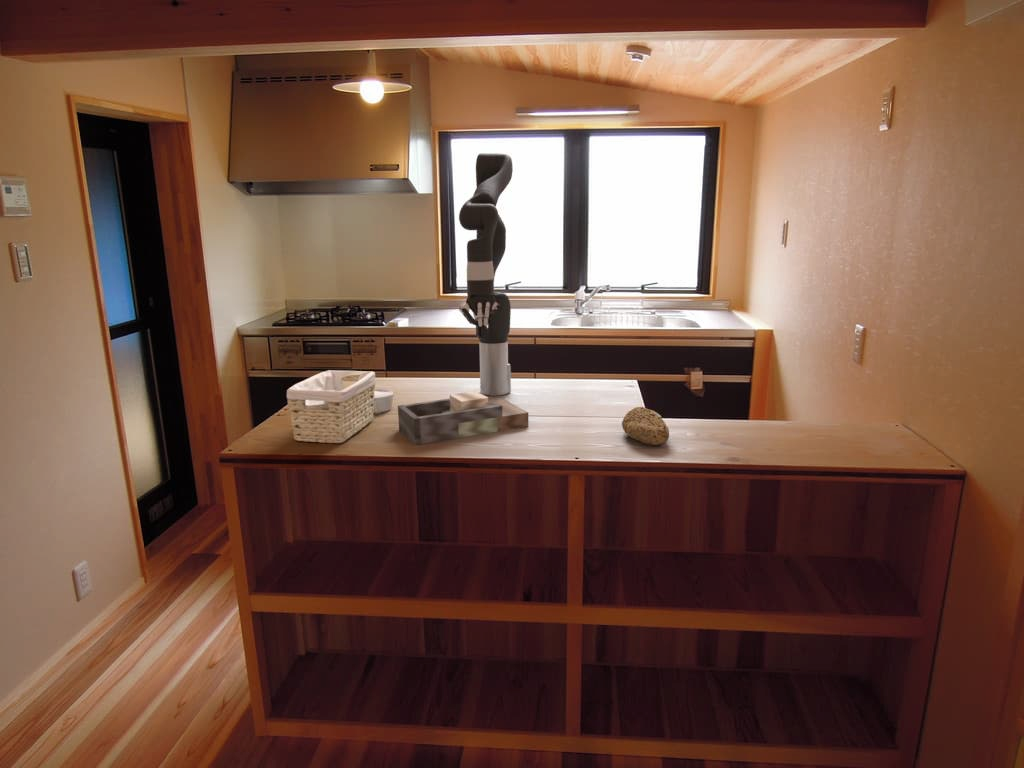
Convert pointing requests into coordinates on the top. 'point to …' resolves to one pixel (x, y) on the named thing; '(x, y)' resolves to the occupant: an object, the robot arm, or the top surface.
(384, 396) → the ramekin
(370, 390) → the storage basket
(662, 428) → the sponge
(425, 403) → the lane
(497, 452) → the top surface
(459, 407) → the block
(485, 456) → the top surface
